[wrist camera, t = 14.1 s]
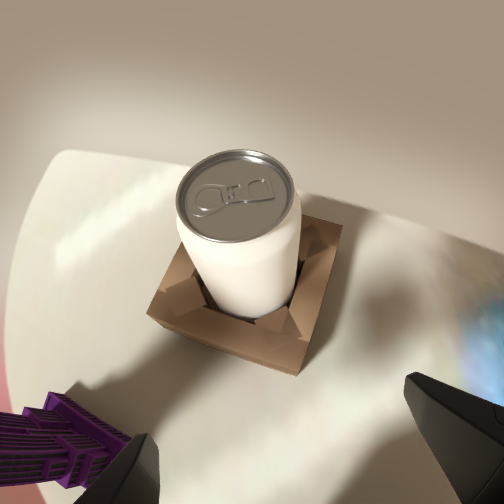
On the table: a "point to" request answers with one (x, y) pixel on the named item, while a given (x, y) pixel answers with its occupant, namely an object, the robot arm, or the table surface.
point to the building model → (56, 444)
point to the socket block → (265, 328)
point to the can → (241, 230)
